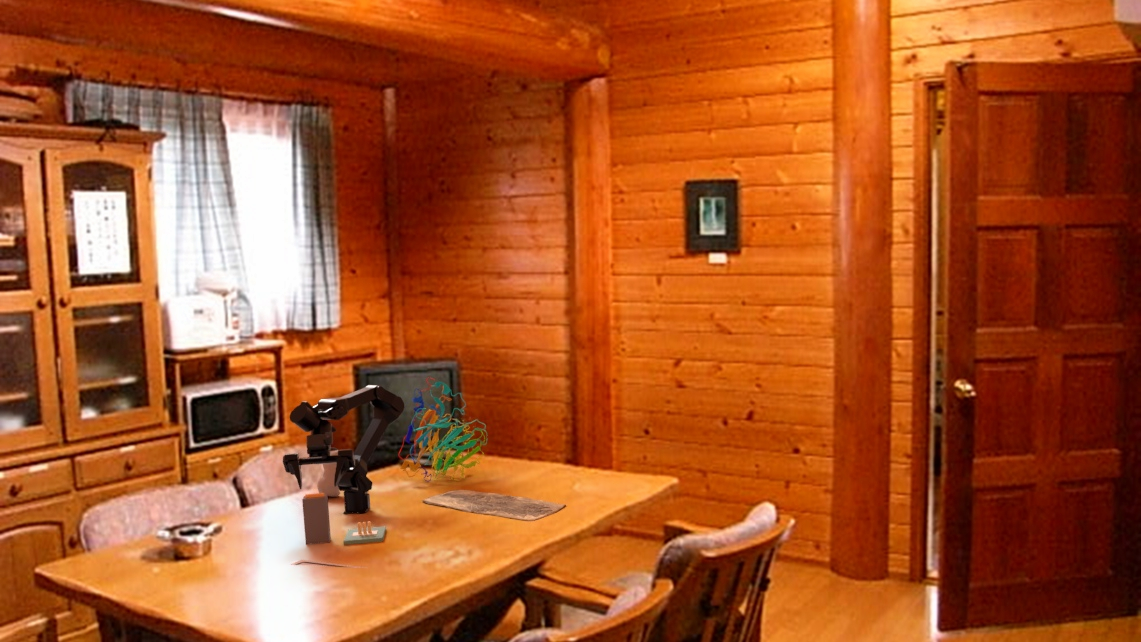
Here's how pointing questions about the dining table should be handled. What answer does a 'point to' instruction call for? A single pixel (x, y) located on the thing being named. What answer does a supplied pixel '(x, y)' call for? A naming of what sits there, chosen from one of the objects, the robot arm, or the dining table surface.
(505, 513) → the relief sculpture
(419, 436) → the protein model
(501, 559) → the dining table surface
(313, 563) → the sign
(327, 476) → the figurine
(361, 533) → the board
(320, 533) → the block
